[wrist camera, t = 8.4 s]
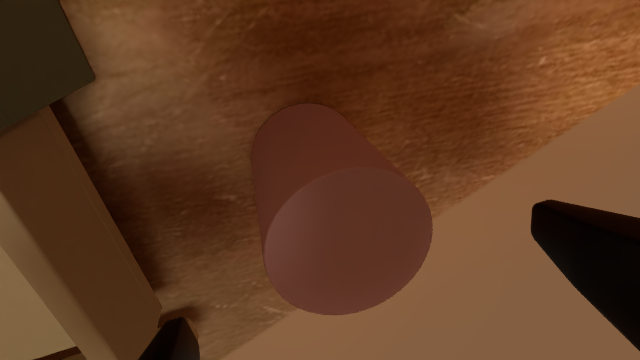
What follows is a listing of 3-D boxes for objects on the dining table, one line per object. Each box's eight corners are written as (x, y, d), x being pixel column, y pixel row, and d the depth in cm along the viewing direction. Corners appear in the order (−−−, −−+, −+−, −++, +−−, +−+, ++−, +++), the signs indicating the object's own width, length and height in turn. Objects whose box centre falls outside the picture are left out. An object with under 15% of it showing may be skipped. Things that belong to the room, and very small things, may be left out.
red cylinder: (365, 188, 18) (438, 286, 11) (267, 217, 17) (288, 336, 11) (348, 90, 15) (426, 144, 9) (235, 119, 15) (239, 199, 9)
